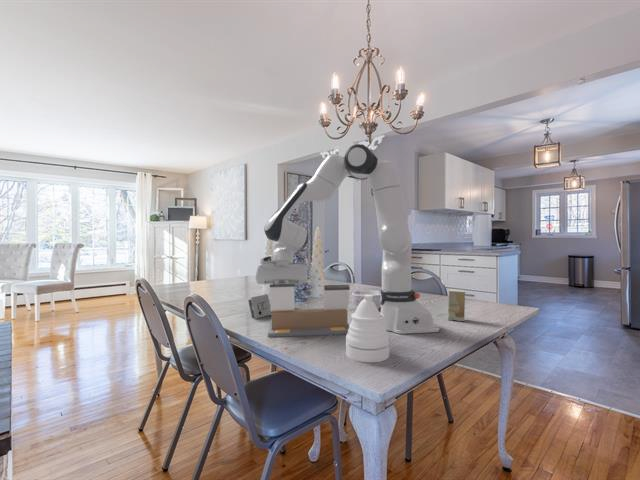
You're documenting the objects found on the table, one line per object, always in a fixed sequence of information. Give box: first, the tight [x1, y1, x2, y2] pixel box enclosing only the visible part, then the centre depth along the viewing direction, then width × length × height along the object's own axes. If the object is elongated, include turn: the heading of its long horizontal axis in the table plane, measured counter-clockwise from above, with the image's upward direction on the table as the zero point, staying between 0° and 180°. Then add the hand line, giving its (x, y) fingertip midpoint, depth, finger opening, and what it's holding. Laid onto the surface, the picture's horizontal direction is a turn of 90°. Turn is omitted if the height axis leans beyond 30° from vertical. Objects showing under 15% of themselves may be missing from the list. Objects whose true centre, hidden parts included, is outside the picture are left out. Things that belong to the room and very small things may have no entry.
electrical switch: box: [248, 294, 272, 320], centre depth 146 cm, size 9×5×9 cm, turn 141°
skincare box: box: [447, 288, 466, 322], centre depth 136 cm, size 6×4×12 cm
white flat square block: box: [323, 284, 351, 310], centre depth 123 cm, size 9×2×9 cm, turn 96°
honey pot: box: [345, 295, 390, 363], centre depth 99 cm, size 13×13×18 cm
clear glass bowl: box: [351, 289, 381, 310], centre depth 156 cm, size 15×15×8 cm
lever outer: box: [269, 284, 296, 311], centre depth 124 cm, size 9×2×9 cm, turn 96°
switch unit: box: [267, 307, 350, 338], centre depth 124 cm, size 30×14×7 cm, turn 96°
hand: (281, 291), depth 126 cm, fingers closed, pressing on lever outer
